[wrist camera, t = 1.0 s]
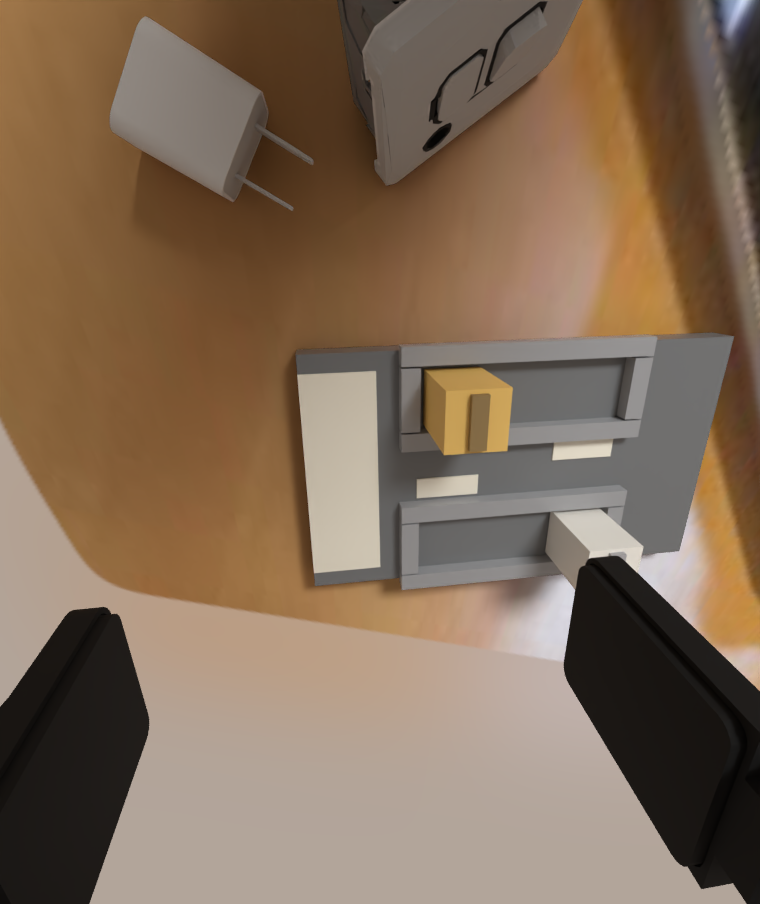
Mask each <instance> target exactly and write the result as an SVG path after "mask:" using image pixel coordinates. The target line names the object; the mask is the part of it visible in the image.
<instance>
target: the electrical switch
mask: <svg viewBox="0 0 760 904" xmlns="http://www.w3.org/2000/svg"><path fill="white" fill-rule="evenodd" d="M337 1H338V7H339V13H340V20H341V26H342V32H343V38H344V45H345V51H346V57H347V63H348V70H349V76H350V82H351V88H352V95H353V101H354V103H355V104H356V106H357V107H358V109H359V110H360V112H361V113H362V115H363V116H364V118H365V119H366V121H367V122H368V124H367V125H366V126H367V127H368V129H369V130H370V132H371V133H372V134H373V136H374V137H375V139H376V149H377V159H376V160H374V164H375V171H376V172H377V174H378V175H379V176H380V178H381V179H382V180H383V182H384V183H385V184H386V186H387V185H392V184H396V183H397V182H398V181H400V180H401V179H402V178H404V177H405V176H406V175H408V174H409V173H410V172H412V171H413V170H414V169H415V168H417V167H418V166H419V165H421V164H422V163H423V162H424V161H426V160H427V159H428V158H430V157H431V156H432V155H434V154H435V153H436V152H437V151H439V150H440V149H441V148H443V147H444V146H445V145H447V144H448V143H449V142H450V141H452V140H453V139H454V138H456V137H457V136H458V135H460V134H461V133H462V132H463V131H465V130H466V129H467V128H469V127H470V126H471V125H472V124H474V123H475V122H476V121H478V120H479V119H480V118H482V117H483V116H484V115H485V114H487V113H488V112H489V111H491V110H492V109H493V108H495V107H496V106H497V105H498V104H500V103H501V102H502V101H504V100H505V99H506V98H508V97H509V96H510V95H511V94H513V93H514V92H515V91H517V90H518V89H519V88H520V87H522V86H523V85H524V84H526V83H527V82H528V81H530V80H531V79H532V78H533V77H535V76H536V75H537V74H539V73H540V72H541V71H542V70H543V69H544V68H546V67H547V65H548V64H549V63H550V62H551V61H552V59H553V58H554V57H555V56H556V54H557V52H558V50H559V48H560V46H561V44H562V42H563V40H564V38H565V36H566V34H567V32H568V30H569V28H570V26H571V24H572V22H573V20H574V18H575V16H576V14H577V11H578V9H579V7H580V5H581V3H582V1H583V0H337ZM368 80H370V82H368Z"/></svg>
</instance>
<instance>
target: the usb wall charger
mask: <svg viewBox="0 0 760 904" xmlns="http://www.w3.org/2000/svg"><path fill="white" fill-rule="evenodd" d="M268 115H269V111H268V108H267V105H266V101H265V98H264V94H263V92H262V91H261V90H259V89H258V88H256V87H255V86H253V85H251V84H250V83H248V82H247V81H245V80H244V79H242V78H241V77H239V76H238V75H236V74H235V73H233V72H231V71H230V70H228V69H227V68H225V67H224V66H222V65H221V64H219V63H218V62H216V61H215V60H213V59H211V58H210V57H208V56H207V55H205V54H204V53H202V52H201V51H199V50H198V49H196V48H195V47H193V46H192V45H190V44H188V43H187V42H185V41H184V40H182V39H181V38H179V37H178V36H176V35H175V34H173V33H172V32H170V31H168V30H167V29H165V28H164V27H162V26H161V25H159V24H158V23H156V22H155V21H153V20H152V19H150V18H149V17H147V16H145V17H143V18H142V19H141V20H140V21H139V23H138V25H137V27H136V30H135V33H134V36H133V40H132V43H131V46H130V49H129V53H128V56H127V59H126V62H125V65H124V69H123V72H122V75H121V78H120V82H119V85H118V88H117V91H116V95H115V98H114V101H113V104H112V108H111V112H110V128H111V131H112V132H113V133H115V134H116V135H118V136H119V137H121V138H123V139H124V140H126V141H127V142H129V143H130V144H132V145H133V146H135V147H137V148H138V149H140V150H142V151H144V152H145V153H147V154H149V155H151V156H152V157H154V158H156V159H158V160H159V161H161V162H163V163H165V164H166V165H168V166H170V167H172V168H173V169H175V170H177V171H179V172H180V173H182V174H184V175H186V176H187V177H189V178H191V179H193V180H195V181H196V182H198V183H200V184H202V185H203V186H205V187H207V188H209V189H210V190H212V191H214V192H216V193H217V194H219V195H221V196H223V197H224V198H226V199H228V200H230V201H231V202H234V201H235V200H236V198H237V196H238V195H239V192H240V190H241V187H242V185H243V183H245V184H246V185H248V186H250V187H251V188H253V189H255V190H257V191H258V192H260V193H262V194H263V195H265V196H267V197H268V198H270V199H272V200H274V201H275V202H277V203H279V204H280V205H282V206H284V207H286V208H287V209H289V210H291V211H293V210H294V209H293V207H292V206H291V205H289V204H288V203H286V202H284V201H283V200H281V199H279V198H278V197H276V196H274V195H272V194H271V193H269V192H267V191H266V190H264V189H262V188H261V187H259V186H257V185H256V184H254V183H252V182H250V181H249V180H247V179H245V177H246V175H247V172H248V170H249V167H250V165H251V162H252V160H253V157H254V155H255V152H256V150H257V147H258V144H259V142H260V139H261V137H262V135H264V136H265V137H267V138H268V139H270V140H272V141H273V142H275V143H276V144H278V145H280V146H281V147H283V148H284V149H286V150H288V151H289V152H291V153H292V154H294V155H296V156H297V157H299V158H301V159H302V160H304V161H306V162H307V163H309V164H311V165H313V164H314V161H313V159H312V158H311V157H309V156H307V155H306V154H304V153H303V152H301V151H300V150H298V149H297V148H295V147H293V146H292V145H290V144H289V143H287V142H286V141H284V140H282V139H281V138H279V137H278V136H276V135H274V134H273V133H271V132H270V131H268V130H266V129H265V127H266V124H267V120H268Z"/></svg>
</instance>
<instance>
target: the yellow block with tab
mask: <svg viewBox="0 0 760 904" xmlns="http://www.w3.org/2000/svg"><path fill="white" fill-rule="evenodd" d="M512 392H513V387H511V386H510V385H508V384H506V383H505V382H503V381H502V380H500V379H499V378H497V377H496V376H494V375H492V374H491V373H489V372H488V371H486V370H485V369H483V368H481V367H460V368H438V369H424V397H423V425H424V426H425V428H426V429H427V431H428V432H429V434H430V435H431V437H432V438H433V440H434V441H435V443H436V444H437V446H438V447H439V449H440V450H441V452H442V453H443V455H455V454H470V453H485V452H500V451H507V449H508V437H509V426H510V415H511V403H512Z"/></svg>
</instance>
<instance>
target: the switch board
mask: <svg viewBox="0 0 760 904" xmlns="http://www.w3.org/2000/svg"><path fill="white" fill-rule="evenodd" d="M733 338H734V336H728V335H723V334H717V333H693V334H669V335H648V334H647V335H622V336H598V337H573V338H548V339H523V340H498V341H473V342H448V343H424V344H399V345H397V346H372V347H348V348H323V349H298V350H296V365H297V378H298V390H299V402H300V414H301V425H302V437H303V449H304V461H305V473H306V485H307V496H308V508H309V520H310V532H311V544H312V556H313V567H314V578H315V586H320V585H330V584H341V583H351V582H362V581H372V580H383V579H393V578H400V585H401V589H402V590H407V589H417V588H428V587H438V586H448V585H458V584H468V583H478V582H488V581H498V580H509V579H519V578H529V577H539V576H549V575H559V574H562V572H561V571H560V570H559V569H558V567H557V566H556V565H555V564H554V562H553V561H552V560H551V559H550V557H549V556H548V555H547V554H546V552H545V549H546V541H547V534H548V526H549V518H550V512H553V511H565V510H577V509H589V508H600V509H601V510H602V511H603V512H604V513H606V514H607V515H608V516H609V517H610V518H611V519H612V520H614V521H615V522H616V523H617V524H618V525H619V526H621V527H622V528H623V529H624V530H625V531H626V532H627V533H629V534H630V535H631V536H632V537H633V538H634V539H636V540H637V541H638V542H639V543H640V544H641V545H642V546H644V547H643V551H642V555H643V554H654V553H664V552H675V551H679V550H680V546H681V542H682V538H683V534H684V530H685V526H686V522H687V518H688V514H689V510H690V506H691V503H692V499H693V495H694V491H695V487H696V483H697V479H698V475H699V471H700V467H701V463H702V459H703V456H704V452H705V448H706V444H707V440H708V436H709V432H710V428H711V424H712V420H713V416H714V412H715V409H716V405H717V401H718V397H719V393H720V389H721V385H722V381H723V377H724V373H725V369H726V366H727V362H728V358H729V354H730V350H731V346H732V342H733ZM460 367H481V368H483V369H485V370H486V371H488V372H489V373H491V374H492V375H494V376H496V377H497V378H499V379H500V380H502V381H503V382H505V383H506V384H508V385H510V386H511V387H513V392H512V403H511V415H510V426H509V437H508V449H507V451H500V452H485V453H470V454H455V455H443V453H442V452H441V450H440V449H439V447H438V446H437V444H436V443H435V441H434V440H433V438H432V437H431V435H430V434H429V432H428V431H427V429H426V428H425V426H424V425H423V397H424V369H438V368H460Z"/></svg>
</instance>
